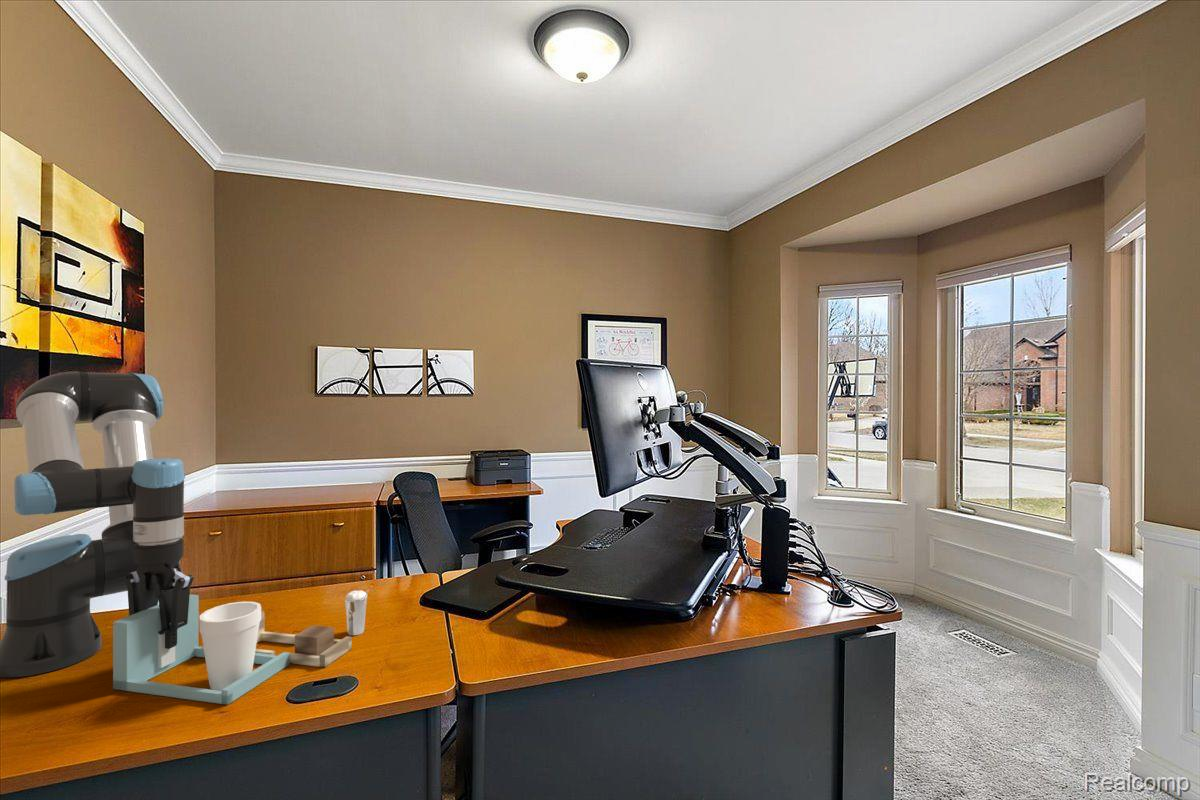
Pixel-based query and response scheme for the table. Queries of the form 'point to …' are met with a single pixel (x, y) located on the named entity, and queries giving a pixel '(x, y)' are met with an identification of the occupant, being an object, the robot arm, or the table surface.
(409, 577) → the table surface
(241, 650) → the foam cup
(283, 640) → the slat
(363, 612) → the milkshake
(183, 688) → the teal frame with backboard
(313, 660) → the slat
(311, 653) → the walnut block
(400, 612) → the table surface
